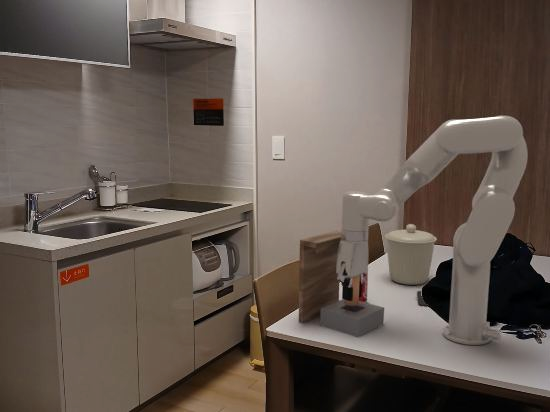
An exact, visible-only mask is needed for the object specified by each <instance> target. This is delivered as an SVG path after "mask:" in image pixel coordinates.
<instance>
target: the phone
mask: <svg viewBox="0 0 550 412" xmlns="http://www.w3.org/2000/svg"><path fill="white" fill-rule="evenodd" d="M421 291H422V290H418V291H416V296H417V297H416V298H418V299H417V305H418V306H419V307H423V306H424V307H425V308H430V307H429V305H428V304H426V303H425V302H424V300H423V298H422V296H421Z"/></svg>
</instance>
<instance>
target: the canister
mask: <svg viewBox="0 0 550 412" xmlns="http://www.w3.org/2000/svg"><path fill="white" fill-rule="evenodd" d="M384 238H385V239H386V246H387V247H386V248H387V262H388V271H389V276H390V278H391V280H392V281H393V282H395V283H398V284H401V285H408V286H415V285H417V286H419V285H421V284H424V283H426V281H427V280H428V279H429V276H430V271H431V265H432V259H433V253H434V247H435V242H436V241H438V240H437V239H438V238H437V237H436V236H434V235H433V234H432V233H430V232H427V231H423V230H418V229H417V226H416V225H415V224H413V223H408V224H407V225H406V228H405V229H395V230H392V231H390V232H388V233H386V234H384Z"/></svg>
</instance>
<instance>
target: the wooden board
mask: <svg viewBox="0 0 550 412" xmlns="http://www.w3.org/2000/svg"><path fill="white" fill-rule="evenodd" d="M340 241H341V230H334V231H329V232H326V233H321V234H317V235H314V236H310V237H305V238H302V239H299V273H298V277H299V279H298V323H300V324H305V323H307V322H309V321H312V320H314V319H316V318H319V317H321V308H323V307H325V306H328V305H330V304H332V303H335V302H337V301H340V281H339V280H337V277H338V275H337V274H336V264H337V254H338V248H339V243H340Z"/></svg>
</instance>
